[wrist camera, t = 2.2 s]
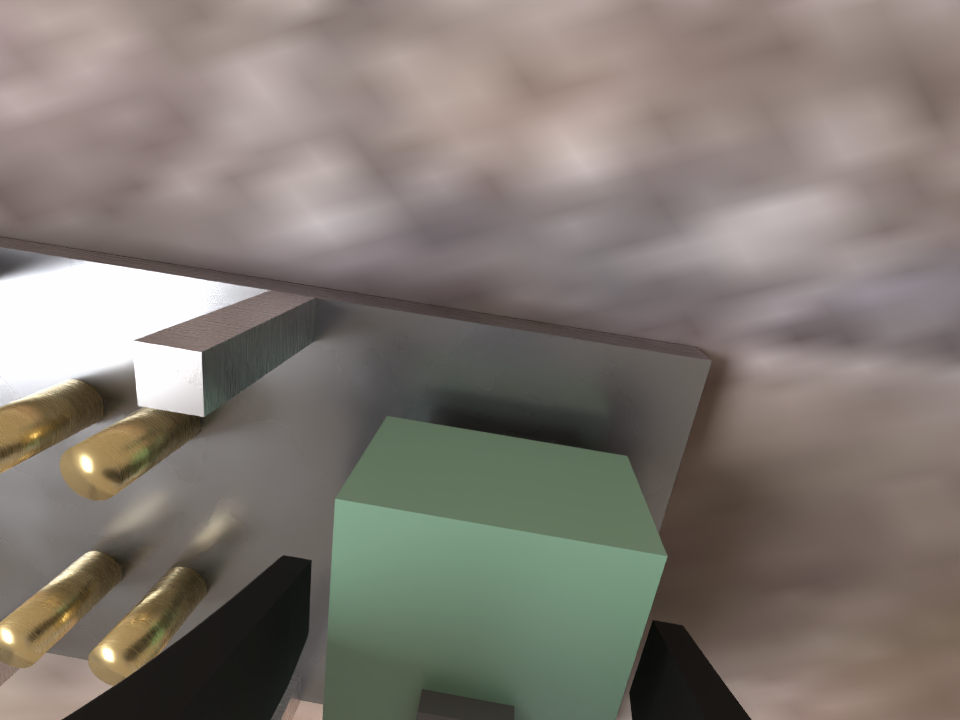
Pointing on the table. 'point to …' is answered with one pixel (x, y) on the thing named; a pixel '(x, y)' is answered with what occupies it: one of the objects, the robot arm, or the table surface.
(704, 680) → the robot arm
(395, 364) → the chassis
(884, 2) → the table surface
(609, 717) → the green block
